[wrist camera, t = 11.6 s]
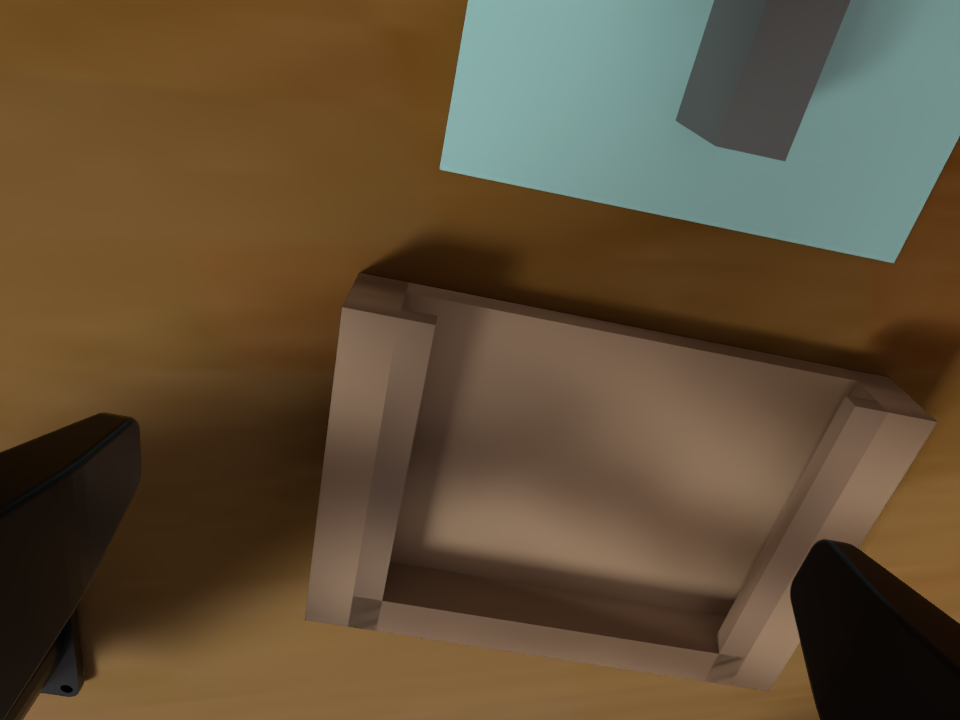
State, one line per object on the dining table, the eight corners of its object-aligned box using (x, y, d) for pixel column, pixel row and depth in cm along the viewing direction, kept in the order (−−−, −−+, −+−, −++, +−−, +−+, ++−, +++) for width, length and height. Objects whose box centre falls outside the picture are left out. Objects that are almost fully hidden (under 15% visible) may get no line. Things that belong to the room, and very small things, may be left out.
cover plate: (879, 254, 20) (972, 313, 16) (441, 163, 19) (428, 204, 15) (1082, -149, 16) (1278, -200, 12) (520, -299, 15) (531, -408, 11)
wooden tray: (745, 632, 27) (768, 691, 25) (321, 564, 26) (304, 619, 23) (889, 377, 21) (937, 422, 19) (359, 272, 20) (342, 307, 18)
